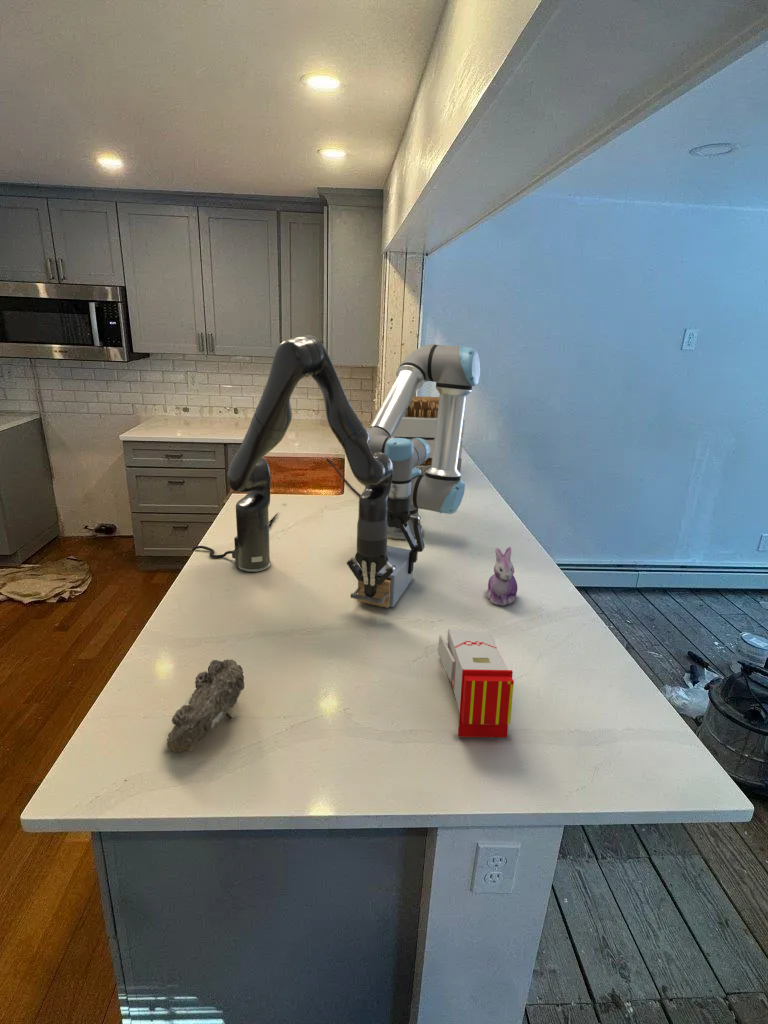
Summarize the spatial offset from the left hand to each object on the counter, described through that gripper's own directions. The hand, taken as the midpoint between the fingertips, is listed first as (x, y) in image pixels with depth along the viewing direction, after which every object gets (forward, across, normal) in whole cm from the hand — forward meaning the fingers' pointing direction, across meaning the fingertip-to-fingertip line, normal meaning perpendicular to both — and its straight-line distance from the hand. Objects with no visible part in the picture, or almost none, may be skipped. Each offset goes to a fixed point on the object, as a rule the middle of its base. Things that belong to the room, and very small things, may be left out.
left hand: (370, 596), depth 146 cm
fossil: (+5, -14, -49) cm, 51 cm away
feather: (+4, -57, +52) cm, 77 cm away
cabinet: (+5, 0, +14) cm, 15 cm away
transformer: (+4, -25, +135) cm, 137 cm away
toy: (+5, +31, -22) cm, 38 cm away
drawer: (+4, 0, +9) cm, 9 cm away
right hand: (0, 0, +19) cm, 19 cm away
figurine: (+5, +31, +22) cm, 38 cm away
